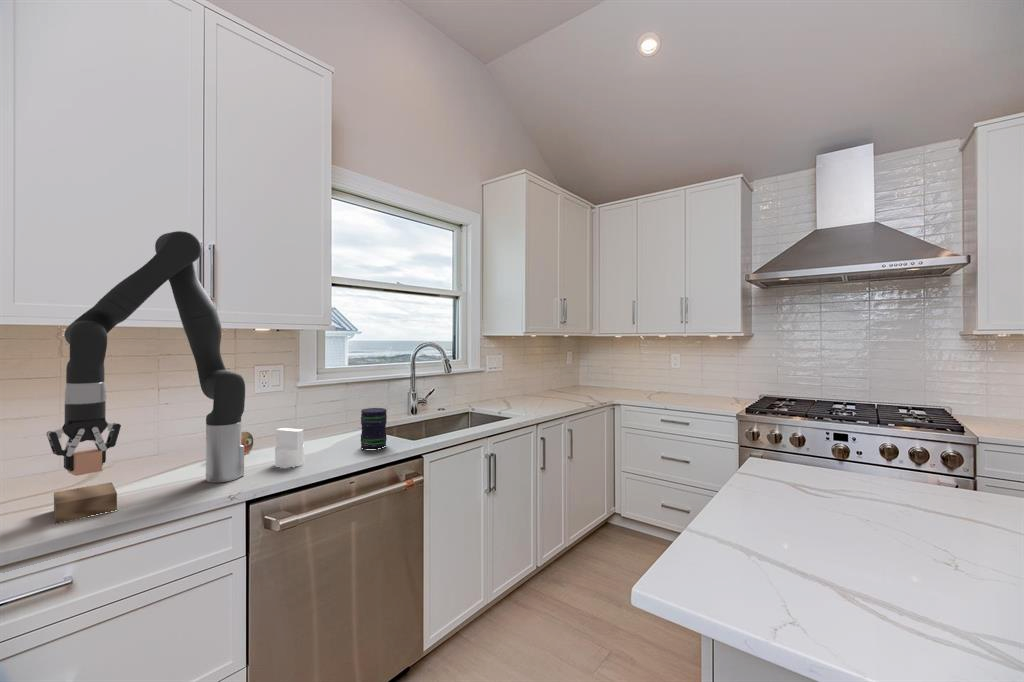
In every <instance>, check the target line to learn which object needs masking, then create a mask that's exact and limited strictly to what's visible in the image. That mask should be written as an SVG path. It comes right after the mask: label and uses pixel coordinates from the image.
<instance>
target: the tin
mask: <svg viewBox="0 0 1024 682" xmlns="http://www.w3.org/2000/svg"><path fill="white" fill-rule="evenodd" d="M241 445H243V446H244V454H245V455H247V454H249V453H250V452H251V450H252V449H253V446H254V438H253V435H252V434H251V433H250V432H249V431H241ZM246 453H247V454H246Z"/></svg>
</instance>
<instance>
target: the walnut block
mask: <svg viewBox="0 0 1024 682" xmlns="http://www.w3.org/2000/svg"><path fill="white" fill-rule="evenodd" d="M115 510H117V511H118V492H117V490H116V488H115V486H114V483H113V482H105V483H100V484H93V485H89V486H84V487H83V486H82V487H76V488H71V489H66V490H60V491H54V492H53V514H54V524H55V525H56V523H58V524H61V523H60V522H62V523H65V522H64V521H67V522H71V521H70V520H72V521H76V520H75V519H77V520H80V518H82V519H84V518H83V517H87V518H89V517H88V516H91V515H96V514H100V513H105V512H111V511H115ZM111 513H112V512H111ZM96 516H97V515H96ZM91 517H92V516H91Z"/></svg>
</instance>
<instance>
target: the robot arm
mask: <svg viewBox="0 0 1024 682" xmlns="http://www.w3.org/2000/svg"><path fill="white" fill-rule="evenodd" d="M154 249H155V254H154V256H153V257H152V258H150V260H148V262H146V263H145V264H144V265H143V266H141V267H140V268H139V269H137V270H136V271H134V272H133V273H131V274H130V275H128V276H127V277H126V278H124V279H123V280H122V281H120V282H118V283H117V284H116V285H115V286H113V288H111V289H110V290H109V291H108V292H106V294H105V295H103V297H102V298H100V299H99V300H98V301H97V302H96V304H95V305H94V306H92V307H91V308H90V309H88V310H87V311H85V312H84V313H83V314H81V315H80V316H79V317H78V318H76V319H75V320H74V321H73V322H72V323H70V324H69V325H68V326H67V327H66V328H65V331H64V338H65V341H66V342H67V343H68V344H69V360H68V362H67V364H66V371H65V373H66V374H65V375H66V377H65V379H66V380H65V382H66V383H65V390H64V422H63V423H64V424H63V425H62V426H61V428H59V429H56V430H49V431H47V432H46V437H47V440H48V443H49V445H50V449H51V452H52V454H53V455H56V456H59V457H60V456H63V468H64V470H67V471H69V472H70V471H73V470H74V456H72V455H73V453H74V452H75V451H76V448H77V447H78V446H79V443H82V442H86V441H89V442H90V441H91V442H93V444H94V445H95V447H96V449H98V450H100V451H102V466H104V463H106V461H107V450H108V449H110V448H114V447H116V444H117V440H118V437H119V434H120V431H121V426H122V425H121V423H117V422H113V423H108V421H107V420H106V403H107V402H106V400H107V393H106V384H105V359H106V355H107V349H108V347H107V346H108V333H109V332H110V331H111V330H112V329H113V328H115V327H116V326H117V325H118V324H120V323H122V322H124V321H126V320H127V319H128V318H129V317H130V316H131V315H132V314H133V313H135V311H137V310H138V309H139V308H140V307H141V306H142V305H143V303H145V302H146V300H148V299H149V298H150V297H151V296H152V295H153V294H154V293H155V292H156V291H157V290H159V288H161V286H163V285H164V284H165V283H166V282H169V285H170V288H171V291H172V294H173V295H172V296H173V298H174V301H175V305H176V308H177V311H178V314H179V318H180V322H181V324H182V327H183V330H184V332H185V336H186V337H187V341H188V344H189V347H190V350H191V353H192V355H193V358H194V361H195V365H196V369H197V375H198V379H199V385H200V388H201V391H202V393H203V394H204V396H206V398H208V399H210V400H213V402H212V403H213V404H212V405H213V406H212V410H211V412H209V413H208V414H207V415H206V417H205V481H206V482H208V483H226V482H231V481H234V480H237V479H239V478H240V477H243V476H245V455H244V446H243V445H241V432H242V416H243V415H244V412H245V402H246V383H245V380H244V378H243V376H242V374H239V373H238V372H235V371H230V370H227V369H226V367H225V364H224V361H223V357H222V355H221V341H222V334H223V333H222V325H221V320H220V317H219V313H218V312H217V308H216V306H215V304H214V302H213V300H212V299H211V296H210V295H209V294H208V292H207V291H206V290H205V288H204V287H203V285H202V284H201V281H200V280H199V278H198V274H197V271H196V266H195V262H196V261H197V260H198V259H199V258H200V257H201V254H202V252H203V247H202V243H201V241H200V240H199V238H198V237H197V236H196V235H194V234H192V233H190V232H187V231H181V230H178V231H172V232H166V233H163V234H161V235H160V236H159V237H158V238H157V240H156V241H155V244H154ZM106 429H107V431H108V435H107V438H106V442H105V440H104V439H103V436H102V434H103V432H104V431H105V430H106ZM62 434H64V435H66V436H67V438H68V439H67V441H66V443H65V447H64V449H63V448H62V445H61V442H60V439H62V436H63V435H62Z"/></svg>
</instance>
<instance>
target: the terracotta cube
mask: <svg viewBox="0 0 1024 682" xmlns="http://www.w3.org/2000/svg"><path fill="white" fill-rule="evenodd" d="M72 456H74V470H73V471H70V472H69V471H68V473H69V474H71V475H73V476H75V477H77V476H83V475H87V474H93V473H97V472H102V471H103V465H102V451H100V450H98V449H97V448H87V449H82V450H75V451H74V453H73V455H72Z"/></svg>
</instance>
